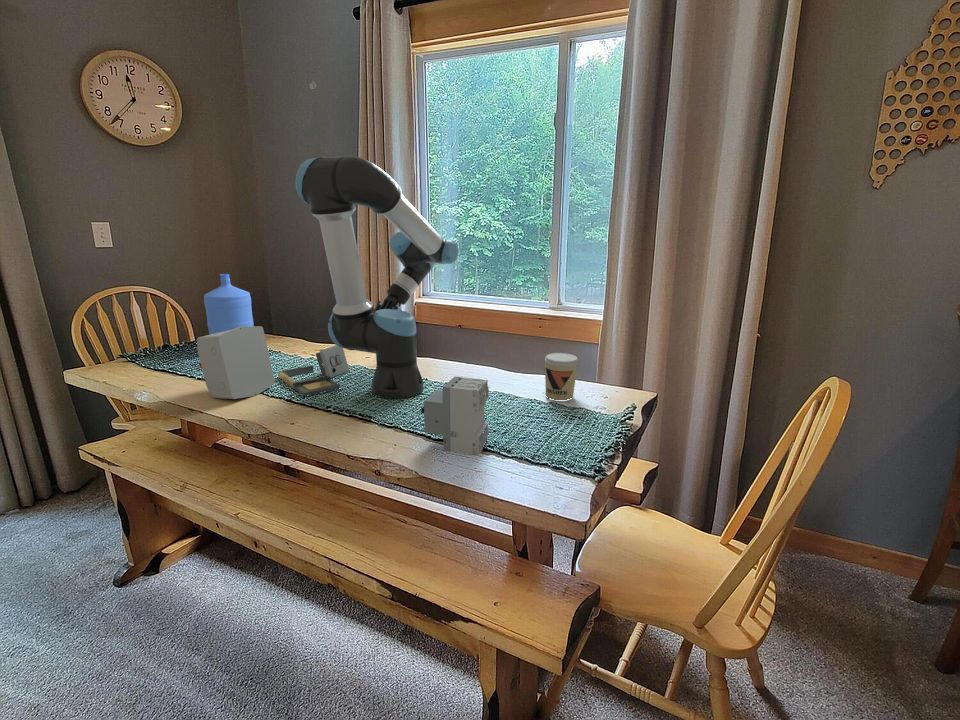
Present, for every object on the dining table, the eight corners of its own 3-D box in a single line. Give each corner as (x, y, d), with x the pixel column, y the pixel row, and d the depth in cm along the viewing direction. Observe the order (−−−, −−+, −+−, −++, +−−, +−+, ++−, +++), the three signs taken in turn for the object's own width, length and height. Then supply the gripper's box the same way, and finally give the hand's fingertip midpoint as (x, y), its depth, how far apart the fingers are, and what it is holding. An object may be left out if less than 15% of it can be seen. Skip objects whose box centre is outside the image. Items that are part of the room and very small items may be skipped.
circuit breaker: (430, 433, 120) (429, 373, 116) (487, 441, 116) (488, 379, 112) (417, 446, 113) (416, 383, 109) (478, 455, 110) (479, 390, 105)
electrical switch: (329, 379, 158) (324, 350, 156) (317, 378, 160) (312, 349, 158) (349, 371, 166) (346, 344, 164) (338, 370, 168) (334, 343, 166)
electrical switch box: (242, 387, 156) (227, 323, 152) (276, 387, 150) (261, 321, 145) (199, 402, 144) (181, 333, 139) (233, 403, 137) (216, 331, 133)
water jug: (246, 354, 184) (236, 277, 176) (203, 353, 184) (191, 276, 176) (263, 343, 199) (255, 272, 191) (223, 343, 199) (213, 271, 191)
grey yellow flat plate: (340, 389, 149) (340, 382, 149) (304, 397, 143) (303, 390, 142) (312, 371, 166) (312, 365, 165) (278, 377, 159) (277, 371, 158)
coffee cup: (539, 400, 142) (541, 359, 139) (547, 389, 151) (549, 351, 147) (572, 404, 139) (574, 363, 136) (578, 394, 147) (581, 354, 144)
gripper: (419, 299, 170) (377, 355, 165) (399, 293, 179) (359, 346, 174) (404, 285, 165) (361, 342, 160) (385, 280, 175) (344, 334, 170)
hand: (360, 344), depth 167 cm, fingers closed
